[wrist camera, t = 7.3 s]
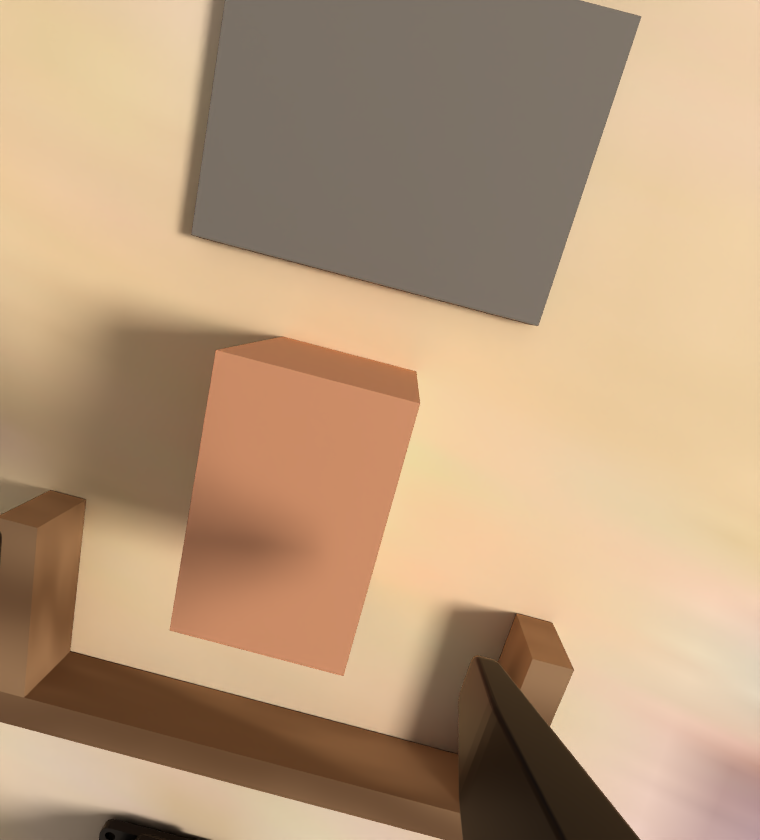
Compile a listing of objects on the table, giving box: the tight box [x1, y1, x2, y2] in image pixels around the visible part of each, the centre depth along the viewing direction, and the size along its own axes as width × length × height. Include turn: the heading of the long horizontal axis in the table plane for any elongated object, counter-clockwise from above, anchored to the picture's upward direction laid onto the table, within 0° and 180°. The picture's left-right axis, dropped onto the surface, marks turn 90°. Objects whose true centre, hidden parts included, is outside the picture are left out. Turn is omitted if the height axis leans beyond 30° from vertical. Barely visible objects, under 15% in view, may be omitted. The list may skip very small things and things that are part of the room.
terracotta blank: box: [170, 337, 420, 676], centre depth 15 cm, size 8×5×6 cm, turn 166°
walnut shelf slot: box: [0, 490, 574, 840], centre depth 18 cm, size 9×21×2 cm, turn 76°
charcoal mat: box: [191, 0, 641, 326], centre depth 15 cm, size 9×12×1 cm
